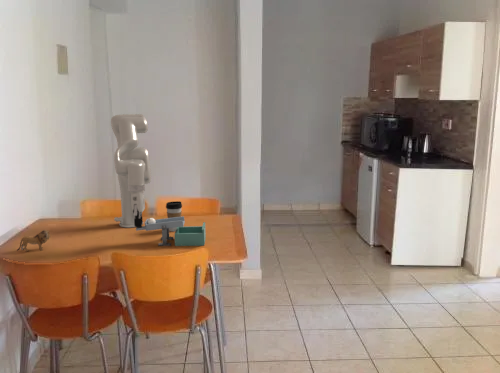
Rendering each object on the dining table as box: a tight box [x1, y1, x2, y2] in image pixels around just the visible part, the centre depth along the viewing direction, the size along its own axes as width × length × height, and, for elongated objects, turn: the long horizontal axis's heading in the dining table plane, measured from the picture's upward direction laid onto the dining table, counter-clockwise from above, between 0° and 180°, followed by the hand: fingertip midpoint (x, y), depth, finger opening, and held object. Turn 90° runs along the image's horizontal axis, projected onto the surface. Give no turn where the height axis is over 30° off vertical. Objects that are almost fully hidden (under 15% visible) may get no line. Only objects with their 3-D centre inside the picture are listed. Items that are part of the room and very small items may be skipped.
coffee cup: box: [165, 200, 183, 232], centre depth 250 cm, size 8×8×15 cm
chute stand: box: [157, 226, 175, 247], centre depth 231 cm, size 6×12×10 cm, turn 2°
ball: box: [147, 217, 156, 224], centre depth 230 cm, size 4×4×4 cm
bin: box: [173, 222, 207, 247], centre depth 232 cm, size 14×12×8 cm
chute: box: [135, 214, 185, 232], centre depth 230 cm, size 23×7×8 cm, turn 92°
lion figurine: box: [16, 229, 51, 252], centre depth 221 cm, size 15×5×9 cm, turn 110°
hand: (138, 225), depth 230 cm, fingers open, 2 cm apart
